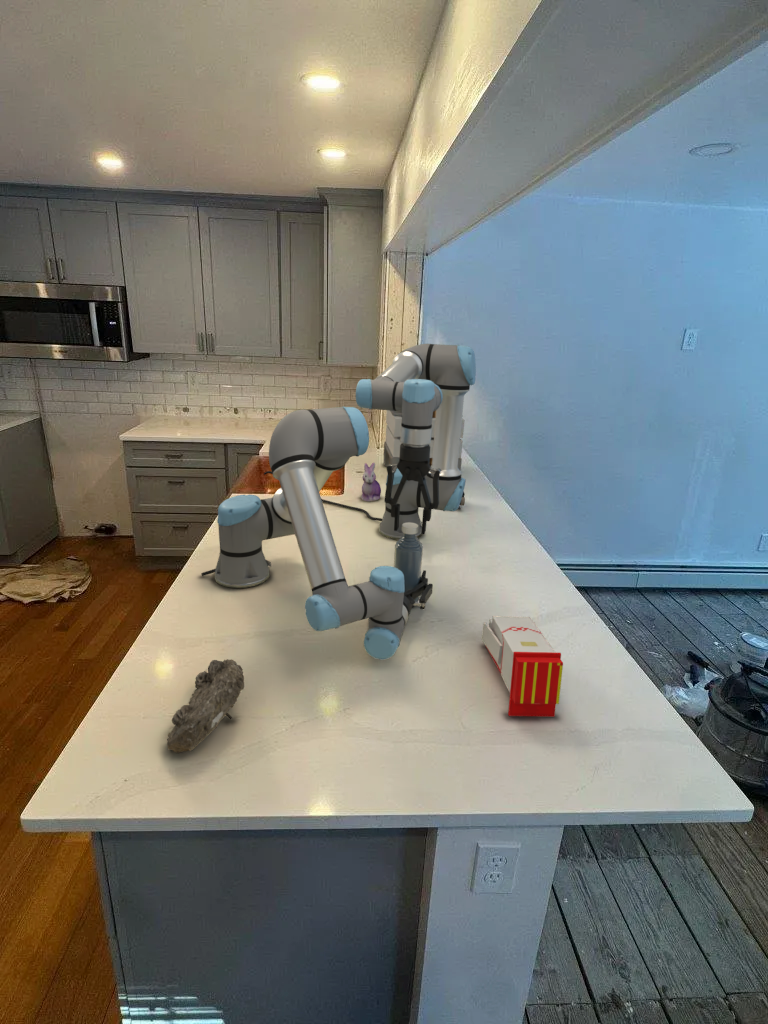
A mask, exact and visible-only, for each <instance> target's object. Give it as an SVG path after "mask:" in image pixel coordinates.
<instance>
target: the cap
mask: <svg viewBox="0 0 768 1024" xmlns="http://www.w3.org/2000/svg"><path fill="white" fill-rule="evenodd" d="M418 528H419V527H418V524H416V523H411V522H408V523H403V524H402V532H403V533H405V534H416V533H418Z"/></svg>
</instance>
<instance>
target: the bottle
mask: <svg viewBox="0 0 768 1024" xmlns="http://www.w3.org/2000/svg"><path fill="white" fill-rule="evenodd" d="M423 551H424V546H423V543H422V542H421V540H420V539H419V537H418V538H417V536H415V534H405V533H404V535H403V536H402V537H401V538H400V539H399V540H396V542H395V544H394V557H393V559H394V560H393V567H395V568H397V569H399V570H400V571H402V573H403V575H404V585H405V591H404V592H406V591H408V590H411V589H413V588H414V587H416V586H417V585H419V583H420V578H421V576H422V566H423ZM419 597H420V596H419ZM419 597H417V598H416V599H415V601H417V600H418V599H419Z"/></svg>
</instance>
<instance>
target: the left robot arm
mask: <svg viewBox="0 0 768 1024" xmlns="http://www.w3.org/2000/svg"><path fill="white" fill-rule="evenodd" d="M369 431H370V430H369V427H368V422H367V420H366V418H365V416H364V414H363V413H362V411H361V410H359V409H358V408H357V407H355V406H339V407H326V408H313V409H309V408H308V409H304V408H303V409H296V410H293V411H291V412H289V413H287V414H286V415H285V416H284V417H282V418H281V419H280V420H279V422H278V423H277V424H276V426H275V428H274V430H273V431H272V434H271V437H270V440H269V446H268V462H269V467H270V471H271V472H272V474H271V475H272V477H273V478H274V479H276V480H277V481H279V484H280V488H278V489H277V490H276V491H275V493H274V494H273V496H272V497H267V498H260V497H259V496H258V495H255V494H237V495H234V496H231V497H229V498H226V499H224V500H223V501H222V502H221V503H220V504H219V505H218V508H217V518H216V519H217V520H216V521H217V525H218V540H219V554H218V555H219V556H218V558H217V562H216V565H215V568H213V569H210V570H207V571H204V572H201V576H202V577H204V576H207V575H211V574H213V573H214V580H215V582H216V583H217V584H218V585H220V586H222V587H225V588H230V589H247V588H252V587H256V586H259V585H262V584H264V583H265V582H266V581H267V580H268V579H269V577H270V568H272V561H270V560H267V559H266V557H265V554H264V552H263V542H264V541H267V540H271V539H278V538H282V537H289V536H293V535H295V538H296V542H297V546H298V549H299V553H300V555H301V558H302V559H301V560H302V563H303V565H304V566H303V567H304V569H305V573H306V577H307V579H308V583H309V586H310V589H311V593H312V594H311V595H310V596H308V597H307V598H306V599H305V602H304V610H305V618H306V621H307V623H308V625H309V626H310V627H311V629H313V630H314V631H316V632H325V631H329V630H332V629H339V628H341V627H343V626H345V625H349V624H353V623H356V622H359V621H363V620H366V619H368V623H367V630H366V632H365V634H364V638H363V647H364V649H365V651H366V653H367V654H368V655H369V656H370V657H371V658H373V659H376V660H382V661H384V660H388V659H390V658H392V657H393V656H394V655H395V654H396V652H397V650H398V649H399V647H400V646H401V645H400V643H401V640H402V636H403V633H404V631H405V628H406V626H407V623H408V620H409V617H410V614H411V612H412V609H414V608H416V607H419V609H420V610H426V604H427V602H428V601H429V600H430V597H431V596H432V595H433V586H434V585H433V583H429V578H428V577H426V576H427V570H426V569H425V570H424V569H423V570H422V572H421V578H420V583H419V585H417V586H416V587H414V588H413V589H411V590H408V591H406V592H404V591H405V585H404V575H403V573H402V571H400V570H399V569H397V568H395V567H394V566H390V565H379V566H376V567H375V568H372V569H371V571H370V573H369V577H368V581H364V582H360V583H356V584H352V585H349V584H348V582H347V579H346V575H345V573H344V569H343V566H342V563H341V560H340V556H339V553H338V549H337V546H336V542H335V540H334V536H333V533H332V530H331V527H330V523H329V520H328V517H327V513H326V511H325V507H324V502H322V500H321V499H322V497H321V494H320V492H321V491H322V489H323V487H324V486H325V484H326V483H327V481H328V479H330V477H331V476H332V474H333V472H336V471H339V470H341V469H342V468H343V467H344V466H345V465H347V462H348V461H349V460H350V459H351V458H352V457H360V456H362V455H365V454H366V453H367V451H368V449H369V445H370V432H369ZM417 597H419V599H418V600H417V601H415V599H416V598H417Z"/></svg>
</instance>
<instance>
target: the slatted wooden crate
mask: <svg viewBox="0 0 768 1024" xmlns="http://www.w3.org/2000/svg"><path fill="white" fill-rule="evenodd" d="M385 414H386V415H385V423H386V428H385V438H384V442H383V466H384V467H387V466H388V465H389V464H392V465H393V464H397V463H398V462H399V457H400V445H401V444H402V442H401V441H400V437H401V423H402V412H401V411H390V410H386V413H385ZM435 419H436V411H434V412H433V416H432V431H431V443H430V444H428V445H429V446H430V460H429V462H430V465H431V466H432V458H433V445H434V432H435ZM464 429H465V419H464V418H462V423H461V434H460V445H459V456H458V469H459V470H460V471H461V472H462V461H463V460H462V453H463V442H464V441H463V440H462V439H463V438H464V431H465V430H464Z"/></svg>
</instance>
